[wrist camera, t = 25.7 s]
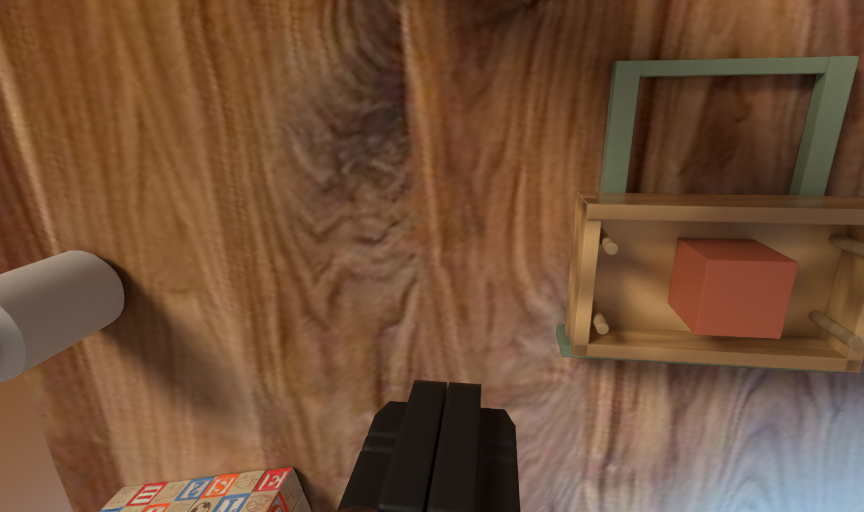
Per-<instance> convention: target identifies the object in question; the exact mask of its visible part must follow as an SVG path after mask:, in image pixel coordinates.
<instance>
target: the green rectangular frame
mask: <svg viewBox="0 0 864 512" xmlns="http://www.w3.org/2000/svg"><path fill="white" fill-rule="evenodd" d="M858 60H859V56H832V57H791V58H743V59H696V60H648V61H641V60H634V61H616V62H613V65H612V75H611V85H610V94H609V104H608V114H607V124H606V133H605V143H604V153H603V162H602V172H601V182H600V191H599V193H626V187H627V178H628V170H629V162H630V153H631V145H632V137H633V129H634V120H635V112H636V104H637V96H638V87H639V79H640V77H690V76H751V75H811V74H816V79H815V83H814V87H813V92H812V96H811V100H810V105H809V109H808V113H807V118H806V122H805V126H804V131H803V135H802V139H801V144H800V148H799V152H798V157H797V161H796V165H795V170H794V174H793V178H792V183H791V187H790V192H789V195H802V196H824V193H825V189H826V185H827V182H828V178H829V174H830V170H831V166H832V162H833V158H834V154H835V150H836V146H837V142H838V138H839V134H840V130H841V126H842V123H843V119H844V115H845V111H846V107H847V103H848V99H849V95H850V91H851V87H852V83H853V79H854V75H855V71H856V67H857V64H858ZM556 337H557V340H558V344H559V348H560V352H561V356H562V357H573V358H590V359H606V360H623V361H640V362H657V363H674V364H691V365H708V366H724V367H741V368H758V369H775V370H792V371H809V372H826V373H839V371H823V370H806V369H789V368H772V367H755V366H738V365H721V364H704V363H687V362H670V361H653V360H636V359H619V358H602V357H584V356H573V355H572V351H571V348H570V345H569V341H568V338H567V335H566V331H565V325H557V329H556Z"/></svg>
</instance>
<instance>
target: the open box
mask: <svg viewBox="0 0 864 512" xmlns="http://www.w3.org/2000/svg"><path fill="white" fill-rule="evenodd" d="M677 238H715V239H754V240H756V241H758V242H760V243H762V244H764V245H766V246H768V247H770V248H772V249H774V250H776V251H778V252H779V253H781V254H783V255H785V256H787V257H789V258H791V259H793V260H795V261H797V262H798V263H799V264H798V268H797V272H796V276H795V280H794V284H793V289H792V293H791V297H790V301H789V305H788V309H787V313H786V317H785V322H784V326H783V330H782V334H781V338H780V339H777V338H756V337H734V336H713V335H695V334H694V333H693V332H692V331H691V330H690V329H689V327H688V326H687V325H686V324H685V323H684V322H683V321H682V319H681V318H680V317H679V316H678V315H677V314H676V312H675V311H674V310H673V309H672V308H671V307H670V306H669V304H668V303H667V302H668V296H669V289H670V283H671V276H672V270H673V263H674V257H675V250H676V244H677ZM565 331H566V335H567V338H568V341H569V345H570V348H571V351H572V355H573V356H584V357H602V358H619V359H636V360H653V361H670V362H687V363H704V364H721V365H738V366H755V367H772V368H789V369H806V370H823V371H840V372H857V373H859V372H860V370H861V366H862V363H863V359H864V198H863V197H859V196H802V195H732V194H663V193H593V192H577V195H576V207H575V218H574V229H573V241H572V252H571V263H570V275H569V286H568V297H567V309H566V320H565Z"/></svg>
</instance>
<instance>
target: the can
mask: <svg viewBox="0 0 864 512" xmlns="http://www.w3.org/2000/svg"><path fill="white" fill-rule="evenodd" d="M123 308H124V290H123V286H122V282H121V280H120V278H119V276H118V275H117V273H116V272H115V271H114V270H113V268H112V267H111V266H110V265H109V264H107V263H106V262H104V261H103V260H101V259H100V258H98V257H97V256H95V255H93V254H90V253H87V252H84V251H68V252H65V253H62V254H59V255H56V256H53V257H50V258H47V259H44V260H41V261H38V262H35V263H32V264H29V265H27V266H24V267H21V268H18V269H15V270H12V271H9V272H6V273H3V274H0V382H3V381H6V380H9V379H13V378H14V377H16V376H18V375H20V374H22V373H24V372H25V371H27V370H29V369H31V368H32V367H34V366H36V365H38V364H39V363H41V362H43V361H45V360H47V359H48V358H50V357H52V356H54V355H55V354H57V353H59V352H61V351H63V350H64V349H66V348H68V347H70V346H71V345H73V344H75V343H77V342H79V341H80V340H82V339H84V338H86V337H87V336H89V335H91V334H93V333H95V332H96V331H98V330H100V329H102V328H103V327H105V326H107V325H109V324H111V323H112V322H113V321H115V320H116V319H117V318H118V317H119V316H120V314H121V312H122V310H123Z"/></svg>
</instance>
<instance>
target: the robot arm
mask: <svg viewBox="0 0 864 512" xmlns="http://www.w3.org/2000/svg"><path fill="white" fill-rule="evenodd" d="M335 512H520V498H519V481H518V465H517V449H516V429H515V425H514V423H513V422H512V420H511V419H510V417H509V416H508V414H507V412H506V411H505V410H504V409H491V408H481V384H469V383H454V382H449V386H447V382H437V381H423V380H415V381H414V384H413V387H412V390H411V393H410V397H409V400H408V402H395V401H390V402H388V403H387V404H386V405H385V406H384V407H383V408H382V409H381V410H380V411H379V412H378V413H377V414H376V415H375V416H374V419H373V421H372V424H371V426H370V429H369V432H368V436H367V437H366V439H365V442H364V444H363V447H362V451H361V452H360V454H359V457H358V459H357V462H356V464H355V467H354V470H353V472H352V475H351V477H350V480H349V482H348V485H347V487H346V490H345V492H344V495H343V497H342V500H341V502H340V505H339V508H338V510H337V511H335Z"/></svg>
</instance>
